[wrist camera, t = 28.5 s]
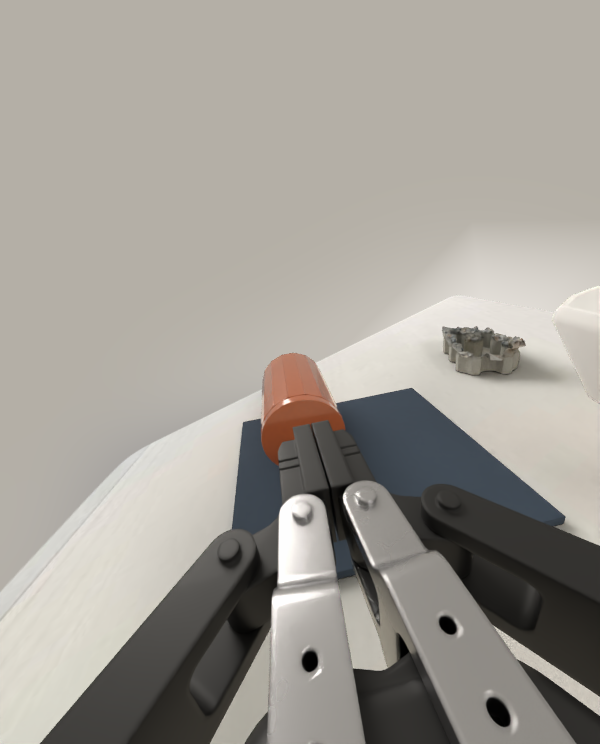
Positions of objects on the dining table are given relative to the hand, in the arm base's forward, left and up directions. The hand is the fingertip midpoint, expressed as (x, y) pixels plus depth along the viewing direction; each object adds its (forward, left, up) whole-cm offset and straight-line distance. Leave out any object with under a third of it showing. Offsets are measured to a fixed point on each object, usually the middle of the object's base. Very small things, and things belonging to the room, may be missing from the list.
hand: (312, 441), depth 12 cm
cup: (0, +9, -6) cm, 10 cm away
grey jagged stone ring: (+26, +23, -10) cm, 36 cm away
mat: (+4, +9, -10) cm, 14 cm away
